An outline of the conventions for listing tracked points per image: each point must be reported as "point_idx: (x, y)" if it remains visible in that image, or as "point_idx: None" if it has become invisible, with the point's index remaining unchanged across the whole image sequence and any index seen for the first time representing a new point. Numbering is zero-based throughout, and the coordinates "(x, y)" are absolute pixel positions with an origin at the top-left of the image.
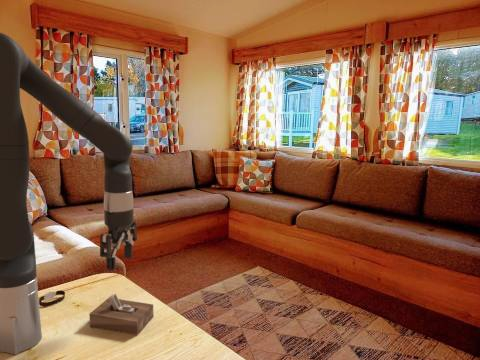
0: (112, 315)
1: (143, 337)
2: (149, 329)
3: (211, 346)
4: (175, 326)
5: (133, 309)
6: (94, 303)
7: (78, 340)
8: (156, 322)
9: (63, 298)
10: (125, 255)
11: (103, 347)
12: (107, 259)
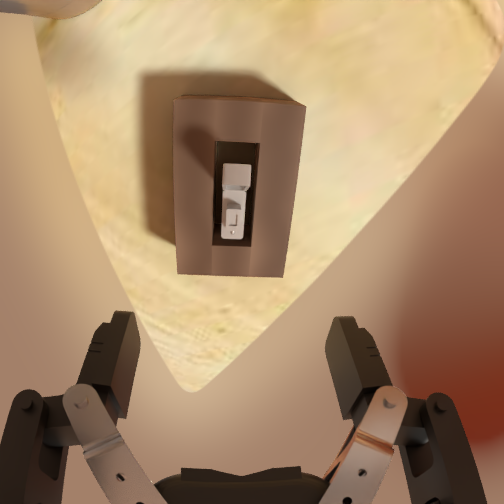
0: (185, 187)
1: None
2: None
3: (198, 377)
4: (245, 313)
5: (235, 238)
6: (327, 30)
7: (113, 108)
8: None
9: None
10: (338, 332)
11: (110, 193)
12: (81, 383)
